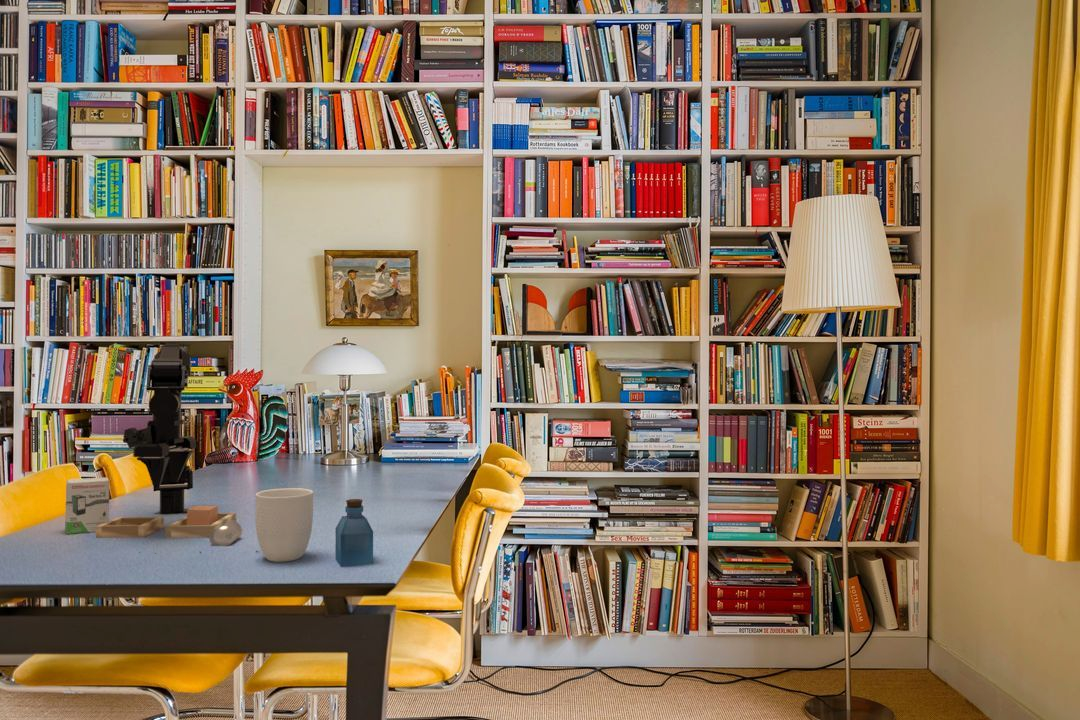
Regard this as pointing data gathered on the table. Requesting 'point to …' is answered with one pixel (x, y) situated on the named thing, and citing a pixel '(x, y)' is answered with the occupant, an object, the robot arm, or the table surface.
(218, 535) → the grey rounded piece
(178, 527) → the birch box
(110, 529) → the oak box
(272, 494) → the mug
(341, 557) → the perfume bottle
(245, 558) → the table surface
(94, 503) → the ink box
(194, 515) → the cube
